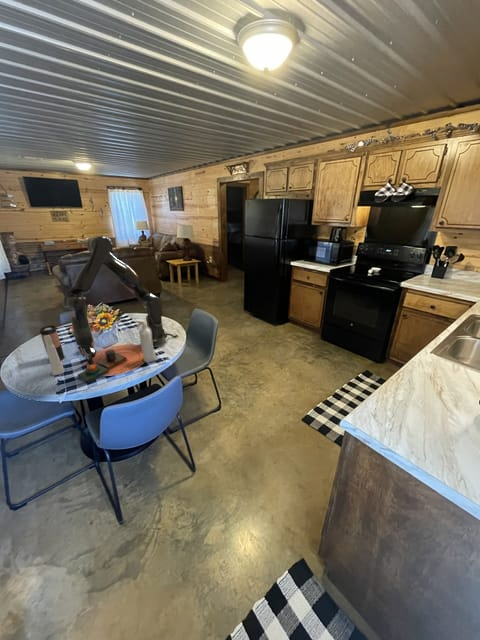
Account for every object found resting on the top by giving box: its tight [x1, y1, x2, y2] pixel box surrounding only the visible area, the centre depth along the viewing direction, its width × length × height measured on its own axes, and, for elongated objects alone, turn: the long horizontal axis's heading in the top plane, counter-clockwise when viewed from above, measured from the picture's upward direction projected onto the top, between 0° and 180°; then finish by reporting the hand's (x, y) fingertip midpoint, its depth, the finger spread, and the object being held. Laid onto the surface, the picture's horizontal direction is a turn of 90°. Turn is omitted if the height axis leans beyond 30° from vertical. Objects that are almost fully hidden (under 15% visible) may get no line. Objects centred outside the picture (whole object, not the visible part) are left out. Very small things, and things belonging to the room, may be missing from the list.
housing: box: [77, 364, 109, 384], centre depth 138 cm, size 11×9×4 cm
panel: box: [96, 352, 128, 372], centre depth 149 cm, size 12×10×3 cm
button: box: [87, 364, 96, 371], centre depth 137 cm, size 4×4×2 cm
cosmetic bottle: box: [44, 335, 66, 376], centre depth 137 cm, size 6×6×22 cm
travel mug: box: [39, 325, 65, 361], centre depth 150 cm, size 8×8×20 cm
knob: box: [104, 349, 116, 362], centre depth 148 cm, size 5×5×5 cm
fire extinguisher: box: [134, 318, 159, 363], centre depth 148 cm, size 7×12×25 cm, turn 61°
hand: (90, 364), depth 136 cm, fingers closed
